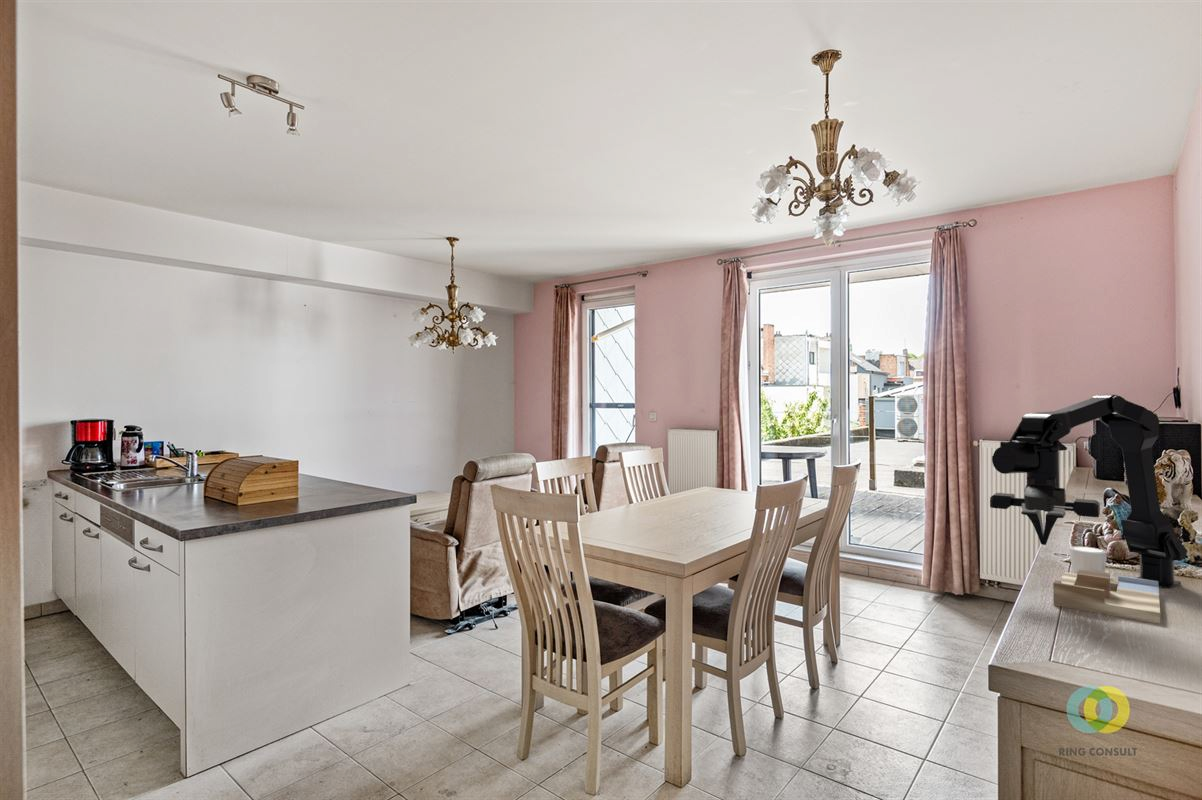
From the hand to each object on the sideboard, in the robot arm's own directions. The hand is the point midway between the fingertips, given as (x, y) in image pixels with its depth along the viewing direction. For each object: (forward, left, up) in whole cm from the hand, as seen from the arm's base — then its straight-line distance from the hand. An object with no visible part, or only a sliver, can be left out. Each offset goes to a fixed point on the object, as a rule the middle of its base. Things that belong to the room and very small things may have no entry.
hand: (1043, 544), depth 130 cm
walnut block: (-3, +8, -9) cm, 12 cm away
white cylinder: (-21, -1, -11) cm, 24 cm away
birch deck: (-7, +8, -11) cm, 15 cm away
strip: (-16, +10, -11) cm, 22 cm away
